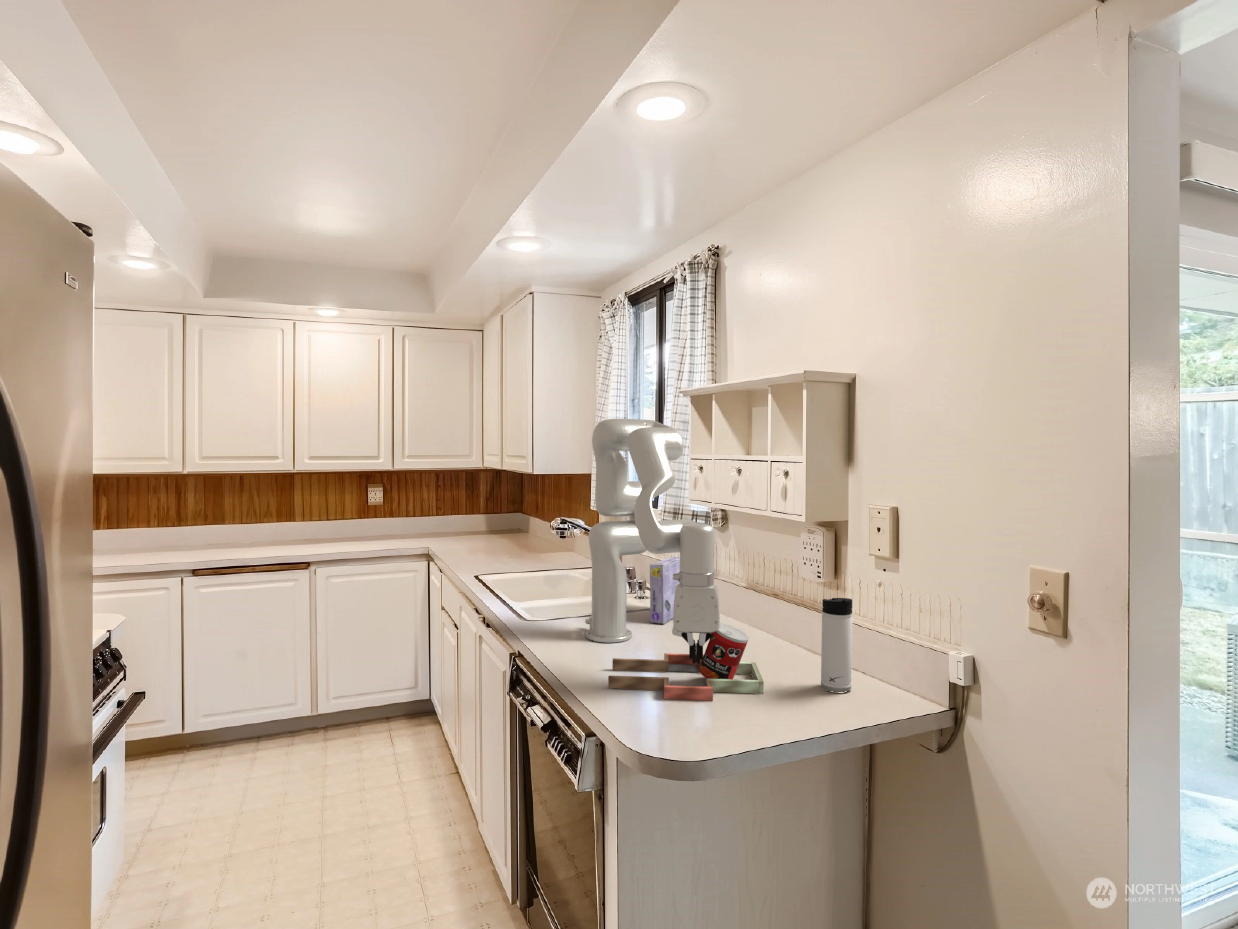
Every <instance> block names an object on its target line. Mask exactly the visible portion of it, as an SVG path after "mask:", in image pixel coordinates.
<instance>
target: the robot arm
mask: <svg viewBox="0 0 1238 929" xmlns="http://www.w3.org/2000/svg"><path fill="white" fill-rule="evenodd" d="M591 444H592V450H593V451H592V452H593V455H594V459H595V492H594V496H595V497H594V498H595V500H594V503H595V509H596V511H597V513H598V514H599V515H601V516H603V517H629V519H628V520H608V521H601V522H597V523H595V524H594V525H592V526H591V528H590V529H589V533H588V545H589V550H590V560H591V615H590V616H589V617H588V618H586V619H585V621H584V623H585V624H586V625H589V629H588V630H586V632H585V637H586V638H587V640H589V641H592V640H593V642H597V643H608V644H609V643H622V642H626V641H628V640H630V639H631V638H632V636H633V632H632V631H631V630H630V629H628V628H627V595H628V594H627V593H628V592H627V590H628V588H627V586H628V585H627V584H628V583H627V580H628V579H627V578H628V575H627V570H626V567H625V565H624V564H623V562H622V561H621V559H620V557H622V556H630V555H631V556H632V555H640V554H643V553H646V552H649V553H650V554H655V555H661V554H671V553H675V554H676V553H679V557H680V572H678V573H677V574H673V580H677V581H678V582H680V584H678V585H677V586H676V590H675V598H674V612H673V619H672V624H673V626H672V630H671V634H672V635H674V636H676V637H680V638H682V639H683V640H684V641H685V642H686V643H687V644H688V646H689V651H688V652H689V653H688V654H689V659H692V662H693V664H695V663H696V662H697V664H700V659H703V654H704V646H705V644H706V643H707V642H709V640H710V638H711V635H712V633H715V632H716V631H717V629H719V628H720V624H721V610H720V609H721V608H720V596H719V590H718V586H717V585H716V584H715V583H714V582H715V579H714V578H715V577H714V576H715V575H714V573H715V564H714V563H715V530H714V527H713V526H712V525H711V524H707V523H702V522H701V523H698V522H697V521H695V520H692V519H662V520H657V518H656V515H655V513H654V510H653V509H654V508H653V499H655V498H657V497H658V496H660V495H662V494H663V493H665V492H667V491H669V489H671V488H672V487H674V485H675V483H676V476H675V473H674V470H673V468H672V465H671V461H677V460H678V459H679V458H681V457H682V455H683V453H684V447H685V446H684V445H685V444H684V440H683V437H682V435H681V434H680V432H679V431H678V430H677V429H675V428H674V427H672V426H669V425H666V424H664V423H661V422H659V421H656V420H653V419H640V418H639V419H637V418H636V419H635V418H608V419H603V420H601V421H600V422H598V423H597V424H596V425H595V426H594V429H593V432H592V439H591ZM622 451H623V452H629V455H630V458H631V461H632V463H633V466H634V470H635V472H636V475H637V478H638V480H637V481H636V480H634V481H633V480H632V481H631V480H628V464H627V461H626V459H625V458H624V456H623V455H622V453H621V452H622ZM694 634H698V639H697V641H696V640H695V639H694Z"/></svg>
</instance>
